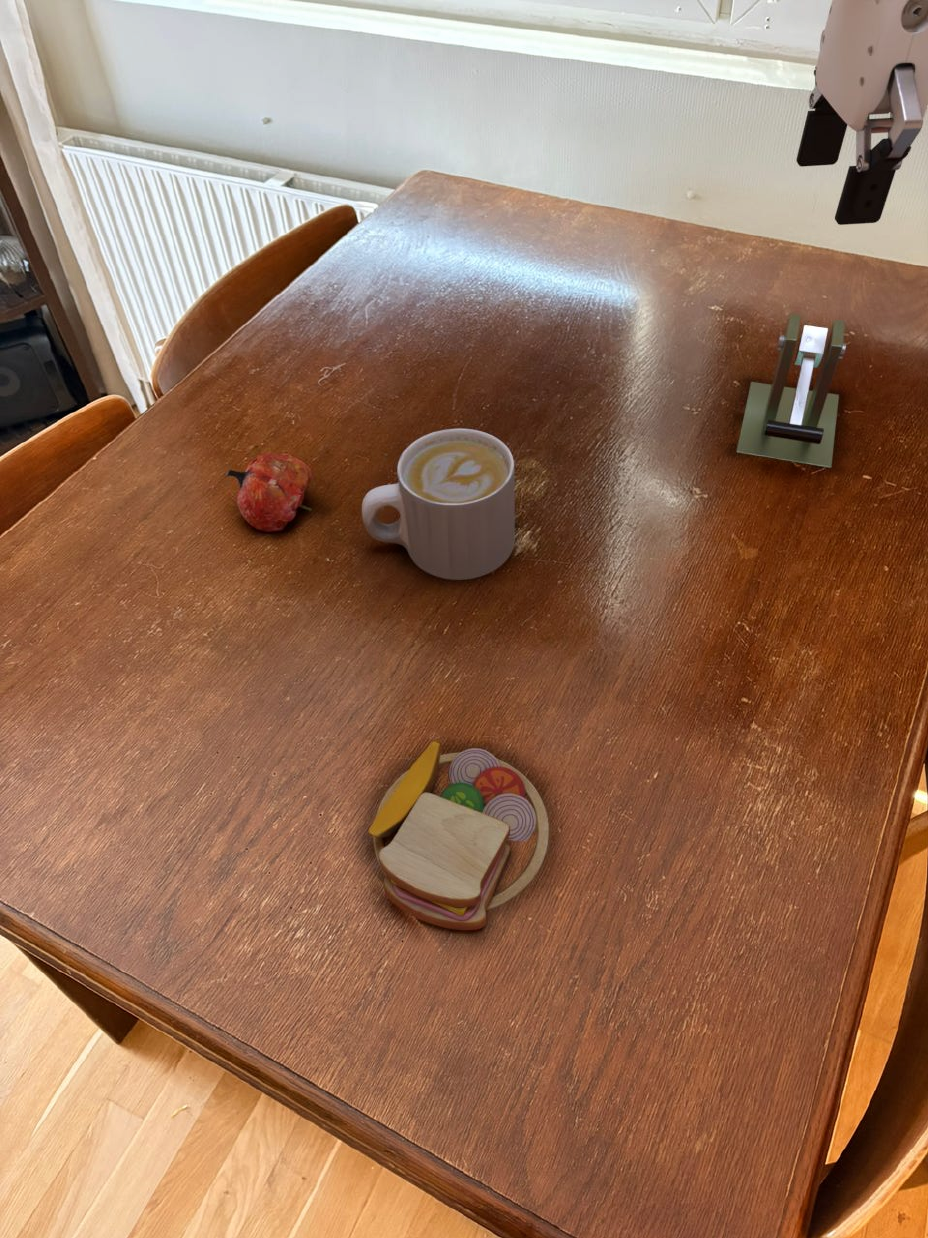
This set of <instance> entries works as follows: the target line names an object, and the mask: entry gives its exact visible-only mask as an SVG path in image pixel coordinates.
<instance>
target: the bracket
mask: <svg viewBox="0 0 928 1238" xmlns="http://www.w3.org/2000/svg"><path fill="white" fill-rule="evenodd" d="M801 319H802V315H801V314H795V313H790V314H789V318H788V321H787V325H786V328H785V329H786V330H785V333H784V334H779V337H778V341H777V344H776V345H777V346H776V350H777V351H780V352H779V356H778V359H777V362H776V363H777V364H776V367H775V372H774V374H773V379H772V382H771V384H769V383H762V382H757V381H751V382H750V385H749V389H748V395H747V400H746V404H745V409H744V413H743V418H742V423H741V428H740V432H739V437H738V441H737V442H738V443H737V447H736V450H735V452H736V453H738V454H744V455H751V456H757V457H760V458H761V457H763V458H768V459H774V460H779V461H784V462H785V461H786V462H791V463H798V464H804V465H809V466H816V467H822V468H828V469H832V467H833V466H832V465H833V455H834V447H835V438H836V427H837V419H838V411H839V400H840V395H839V394H836V393H829V391H830V387H831V384H832V382H833V379H834V375H835V372H836V369H837V366H838V363H839V360H840V359H841V360H843V359H844V357H845V354H846V350H847V344H848V343H846V342H844V337H845V328H846V320H841V319H834V320H833V323H832V327H831V330H830V333H829V337H828V338H827V339H828V340H827V342H826V345H825V348H824V353H823V356H822V359H821V362H820V365H819V370H818V373H817V376H816V379H815V383H814V386H813V389H812V390H810V389H809V392H808V397H807V402H806V407H805V411H804V416H803V421H802V425H805V426H811V427H817V428H823V429H824V432H823V437H822V440H821V443H820V444H814V443H808V442H802V441H796V440H789V439H783V438H777V437H771V436H765V435H764V431H765V427H766V423H767V420H773V421H779V422H786V423H789V419H790V414H791V409H792V405H793V400H794V395H795V390H796V387H788V386H786V382H787V379H788V375H789V371H790V367H791V364H792V361H793V357H794V353H795V350H796V346H797V342H798V339H799V331H800V325H801Z"/></svg>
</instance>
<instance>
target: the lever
mask: <svg viewBox="0 0 928 1238" xmlns="http://www.w3.org/2000/svg"><path fill="white" fill-rule="evenodd" d="M828 334H829V327H822V326H815V325H807V324H804V325H803V327H802V330H801V333H800V337H799V338H798V339H799V340H798V345H797V349H796V354H795V359H794V363H793V365H794V366H799V372H798V376H797V381H796V386H795V388H796V390H795V395H794V400H793V405H792V409H791V414H790V419H789V423H786V422H779V421H773V420H767V423H766V427H765V431H764V435H765V436H771V437H777V438H783V439H789V440H796V441H802V442H808V443H814V444H820V443H821V440H822V437H823V432H824V429H823V428H817V427H811V426H805V425H802V421H803V416H804V411H805V407H806V402H807V397H808V392H809V390H810V387H811V381H812V377H813V372H814V368H816V369H818V368H820V365H821V362H822V359H823V356H824V353H825V349H826V344H827V339H828Z"/></svg>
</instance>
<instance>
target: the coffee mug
mask: <svg viewBox="0 0 928 1238" xmlns="http://www.w3.org/2000/svg"><path fill="white" fill-rule="evenodd" d="M396 473H397V482H396V483H392V484H385V485H380V486H376V487H374V488H373V489H371V490H369V491H368V492H367V493H366V494H365V495H364V497H363V499H362V503H361V518H362V524H363V526H364V529H365V530H366V531H367V533H368V535H369V536H370V537H372V538H373V539H374V540H376V541H378V542H382V543H388V544H397V545H401V546H402V547H403V548H405V549H406V551H407V554H408V556H409V557H410V559H411V560H412V561H413V563H414V564H415V565H416V566H417V567H418V568H419V569H421V570H422V571H423V572H425V573H426V574H429V575H432V576H433V577H436V578H441V579H444V580H452V581H453V580H455V581H461V580H462V581H463V580H471V579H476V578H477V579H478V578H480V577H483V576H485V575H488V574H490V573H492V572H494V571H496V570H497V569H499V568H500V567H502V565H504V563H505V562H507V561H508V559H509V557H510V556H511V554H512V552H513V550H514V547H515V539H516V534H515V533H516V530H515V529H516V528H515V527H516V524H515V523H516V521H515V519H516V518H515V517H516V515H515V514H516V513H515V509H516V507H515V499H516V498H515V495H516V493H515V491H516V490H515V481H516V480H515V459H514V457H513V454H512V452H511V450H510V448H509V447H508V446H507V445H506V444H505V443H504V442H503V441H502V440H500V439H499V438H497V437H495V436H494V435H492V434H489V433H487V432H484V431H481V430H477V429H471V428H461V427H459V428H447V429H441V430H437V431H433V432H430V433H428V434H425V435H423V436H421V437H420V438H418V439H416V440H415V441H413V442H411V444H409V445H408V446H407V447H406V449H405V450H403V452H402V454H401V455H400V457H399V460H398V462H397V467H396ZM384 507H385V508H386V507H393V508H395V509H396V510H397V511H398V512H399V518H397V520H396V521H395V522H392V523H384V522H382V521H380V520H379V518H378V516H377V514H378V512H379V511H380V509H383V508H384Z"/></svg>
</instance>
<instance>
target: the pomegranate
mask: <svg viewBox="0 0 928 1238" xmlns="http://www.w3.org/2000/svg"><path fill="white" fill-rule="evenodd" d="M229 476H230V477H234V478H236V480H237V482H238V486H239V487H238V492H237V496H236V505H237V508H238V510H239V512H240V514H241V516H242V517H243V519H244V520H245V521H246V522H247V524H249V525H250V526H252V527H253V528H254V529H256V530H258V531H262V532H266V533H271V532H280V531H282V530H284V529H285V527H287V526H288V523H290V522H292V521H293V520H294V519H295V517H296V514H297V511H298V508H300V509H302V510H304V511H308V512H309V511H310V512H311V511H312V508H310V507H307V506H306V505H304V504H303V502H304V499H305V493H306V490H307V488H308V486H309V484H310V483H311V481H312V479H313V473H312V471H311V468H310V467H309V466H308V465H307V464H306V463H305V462H303V461H302V460H300V459H299V458H296V457H295V456H292V455H290V454H287V453H266V454H262V455H259V456H256V457H255V458H254V459H253V460H251V461H250V463H249V464H248V465H247V467H246V470H245V471H238V470H232V468H229V470H228V471H227V473H226V475H225V476H224V478H227V477H229Z"/></svg>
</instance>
